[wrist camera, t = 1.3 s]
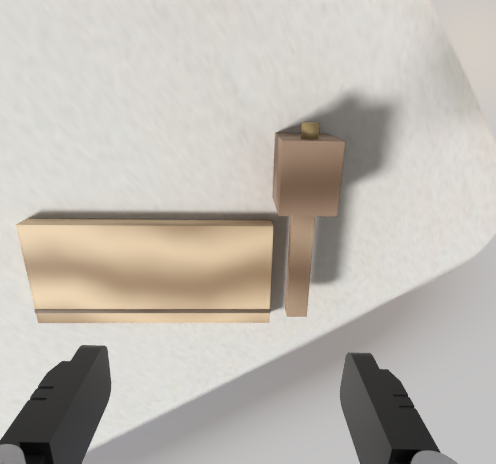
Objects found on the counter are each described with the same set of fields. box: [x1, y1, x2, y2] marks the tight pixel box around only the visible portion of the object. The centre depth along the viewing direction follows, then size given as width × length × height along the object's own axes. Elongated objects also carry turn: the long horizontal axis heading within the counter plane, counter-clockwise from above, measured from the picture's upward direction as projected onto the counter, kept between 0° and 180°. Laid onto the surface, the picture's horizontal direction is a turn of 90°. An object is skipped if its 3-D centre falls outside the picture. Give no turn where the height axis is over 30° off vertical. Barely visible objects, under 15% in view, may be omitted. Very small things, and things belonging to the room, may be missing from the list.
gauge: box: [273, 122, 345, 317], centre depth 27 cm, size 15×4×5 cm, turn 179°
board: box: [16, 219, 273, 323], centre depth 30 cm, size 9×20×2 cm, turn 89°
